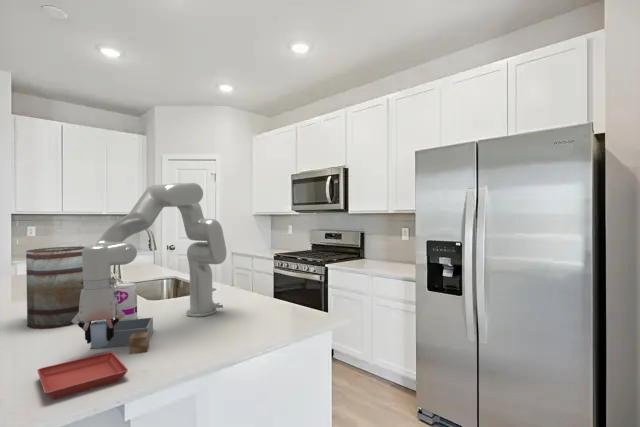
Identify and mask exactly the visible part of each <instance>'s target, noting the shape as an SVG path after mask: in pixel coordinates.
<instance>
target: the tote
mask: <svg viewBox="0 0 640 427" xmlns="http://www.w3.org/2000/svg"><path fill="white" fill-rule="evenodd" d="M153 331H154V317H143V318H136V319H130V320H120V321H118V322H117V323H116V324H115V325H114V336H113V337H112V339H111V340H110V341H109V344H108V345H106V346H103V347H99V348H98V349H101V348H111V347H118V346H119V347H121V346H129V338H130V337H131V335H132V334H133V333H142V332H149V340H150V339H151V336H152V334H153ZM93 349H95V348H92V347H91V346H90V350H93Z"/></svg>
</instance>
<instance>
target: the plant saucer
mask: <svg viewBox="0 0 640 427" xmlns="http://www.w3.org/2000/svg"><path fill="white" fill-rule="evenodd" d="M115 354H116V353H114V352H112V351H109V352H104V353H101V354H96V355H93V356H92V355H91V356H87V357H83V358H79V359H73V360H71V361H65V362H63V363H62V362H61V363H58V364H53V365H49V366H44V367H40V368H38V369H36V370H37V375H38V377H39V380H40V383H41V387H42V389H43V392H44V393H45V395H46V396H47V397H49V398H51V399H52V400H57V399H61V398H64V397H67V396H72V395H74V394H78V393H81V392H85V391H88V390H91V389H95V388H99V387H102V386H105V385H109V384H113V383H116V382H119V381H121V379H122V378H123V377H124V376H125V375H126V374H127V373H128V371H129V369H128V368H127V366H125V364H124V363H123V362H122V361H121V360H120V359H119V358H118V356H117V355H115Z"/></svg>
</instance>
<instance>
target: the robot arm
mask: <svg viewBox="0 0 640 427" xmlns="http://www.w3.org/2000/svg"><path fill="white" fill-rule="evenodd" d="M203 196H204V190H203V188H202V187H201V185H199V183H196V182H183V183H182V182H178V183H169V184H168V183H167V184H166V183H165V184H153V185H150V186H149V187H147V188H145V190H144V192H143V193H142V195H141V196H140V197H139V199H138V200H137V202H136V203H135V205H134V206H133V207H132V209H131V210H130V211H129V213H128V214H127V215H125V216H123V217H122V218H121V219H119V220H118V221H117V222H115V223H113V224H112V225H111V226H110V227H109V228H107V229H106V231H105V232H103V234H102V235H101V236H100V238H99V239H98V240H97V242H96V244H93V245H88V246H87V245H86V246H85V247H84V248H83V250H82V265H83V288H84V289H82V290H81V294H80V302H79V312H78V313H77V315H76V316H75V317H74V318H73V319H72V322H73V323H74V324H75V325H76V326H78V327H79V328H81V329H82V331H84V341H86V344H91V339H90V324H91V323H92V322H96V321H102V320H106V321H107V324H108V329H107V341H110V340H111V339H112V337H113V336H114V325H115V324H116V323H117V322H118V321H119V320H121V319H122V318H123V317H124V316H125V313H124V312H122V311H121V310H120V309H119V308H118V303H117V296H116V291H115V287H116V286H115V285H113V284H117V279H116V278H115V279H114V278H113V277H112V273H111V272H112V269H111V267H112V266H124V265H128V264H130V263H132V262H133V261H134V260H135V259H136V258H137V254H138V250H137V248H136V247H135V245H134V244H132V243H130V242H125V240H126V239H128V238H129V237H131V236H132V235H135V234H137V233H140V232H142V231H146V230H147V229H149V228H151V227H152V225H153V224H154V223H155V221H156V220H157V217H158V216H159V214H161V211H162V210H163V209H164V208H174V207H175V208H177V209H178V210H179V212H180V214H181V219H182V223H183V228H184V232H185V235H186V237H187V238H188V239H189V240H190V241H195V242H193V243H191V244H190V245H189V246H188V248H187V250H186V257H187V260H188V266H189V309H188V310H186V312H185V313H186V316H188V317H193V318H194V317H195V318H198V317H199V318H200V317H206V316H212V315H214V314H215V313H216V312H217V309H219V308H220V309H221V308H222V309H223V308H224V303H223V302H221V303H220V302H217V303H215V302H214V300H213V271H212V268H211V266H210V265H221V264H222V263H224V262H225V261H226V258H227V246H226V240H225V236H224V231H223V228H222V225H221V224H220V222H219V221H218V220H216V219H214V218H205V216H204V213H203V210H202V207H201V205H200V202H201V200H202V199H203ZM116 314H118V317H117V318H115V315H116ZM79 319H80V320H79Z"/></svg>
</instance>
